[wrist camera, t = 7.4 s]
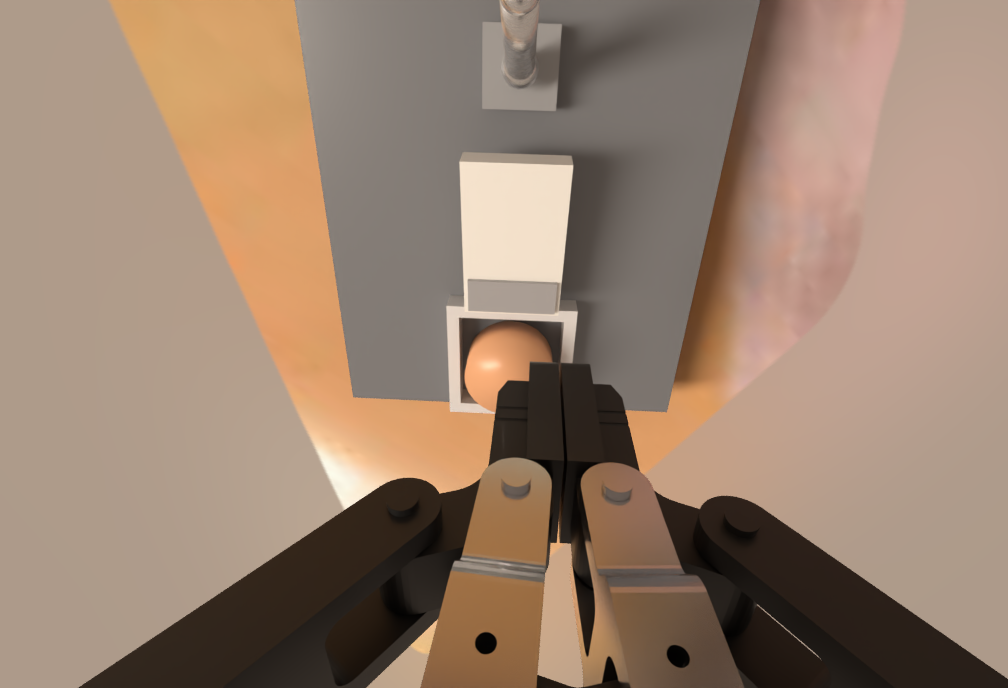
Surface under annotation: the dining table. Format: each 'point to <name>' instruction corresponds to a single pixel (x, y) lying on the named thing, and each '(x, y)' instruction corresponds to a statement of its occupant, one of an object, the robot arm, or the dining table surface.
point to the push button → (502, 359)
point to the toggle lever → (519, 42)
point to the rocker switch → (514, 231)
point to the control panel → (520, 130)
